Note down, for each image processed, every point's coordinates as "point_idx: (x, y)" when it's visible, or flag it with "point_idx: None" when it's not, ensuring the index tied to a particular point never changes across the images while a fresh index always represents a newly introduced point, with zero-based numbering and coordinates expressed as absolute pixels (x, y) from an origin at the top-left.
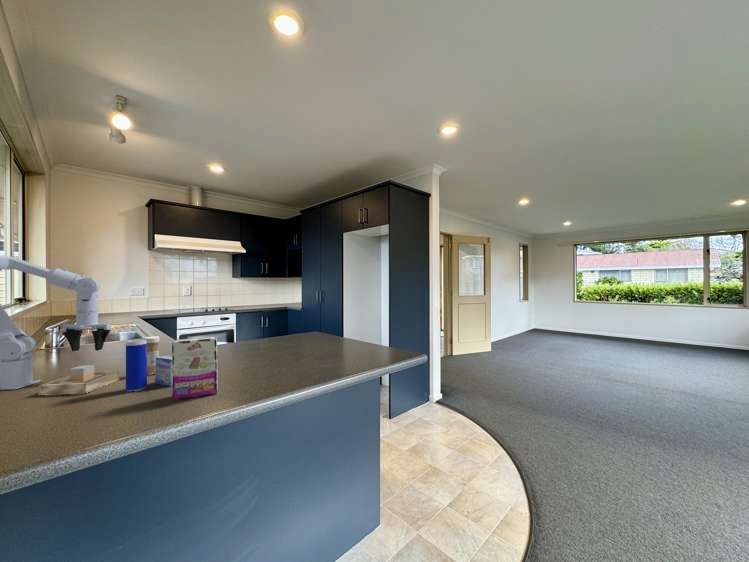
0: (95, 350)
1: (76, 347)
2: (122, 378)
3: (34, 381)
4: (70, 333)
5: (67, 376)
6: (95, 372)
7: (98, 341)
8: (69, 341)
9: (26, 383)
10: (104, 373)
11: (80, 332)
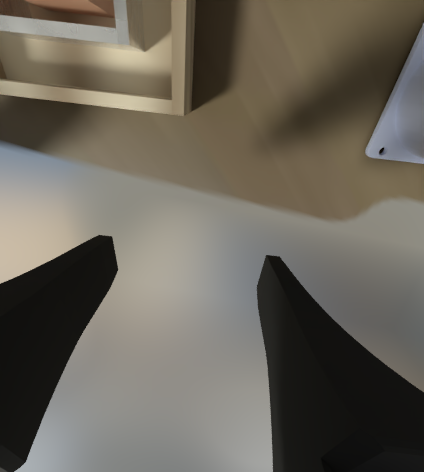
0: (111, 237)
1: (265, 288)
2: (24, 125)
3: (389, 133)
4: (338, 424)
5: (178, 15)
6: (83, 97)
7: (22, 276)
8: (317, 314)
9: (411, 81)
10: (32, 83)
11: (278, 462)
